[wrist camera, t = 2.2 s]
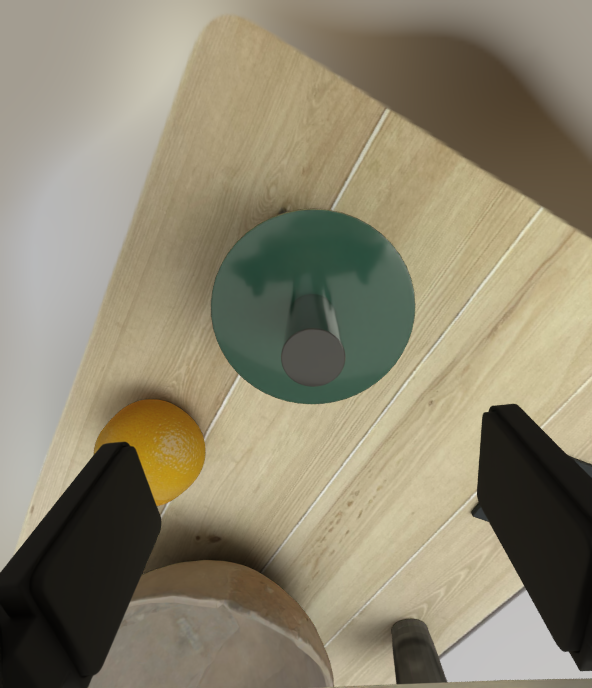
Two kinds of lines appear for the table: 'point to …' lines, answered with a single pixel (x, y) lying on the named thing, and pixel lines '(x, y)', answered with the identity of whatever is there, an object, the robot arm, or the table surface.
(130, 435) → the fruit
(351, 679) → the table surface
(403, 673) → the beverage cup
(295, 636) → the bowl
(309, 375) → the lid
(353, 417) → the table surface
